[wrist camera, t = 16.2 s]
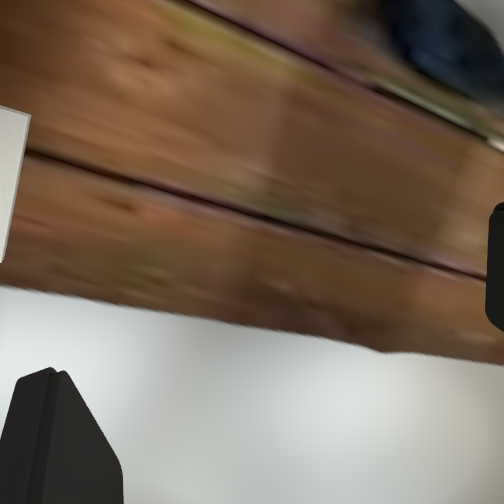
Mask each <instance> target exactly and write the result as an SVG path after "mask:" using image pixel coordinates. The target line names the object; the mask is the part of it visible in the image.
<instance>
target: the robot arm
mask: <svg viewBox="0 0 504 504" xmlns="http://www.w3.org/2000/svg"><path fill="white" fill-rule="evenodd" d="M485 312H486V315H487V317H488V319H489V320H490V322H491V323H492V324H493V325H494V326H496V327H497V328H499V329H500V330H501V331H503V332H504V202H502V203H499V204H498V205H497V206H496V207H495V208H494V210H493V213H492V214H491V216H490V218H489V233H488V256H487V278H486V300H485ZM123 499H124V498H123V474H122V469H121V465H120V463H119V460H118V458H117V456H116V455H115V453H114V451H113V449H112V448H111V446H110V444H109V443H108V441H107V439H106V437H105V436H104V434H103V432H102V430H101V429H100V427H99V426H98V424H97V422H96V420H95V419H94V417H93V415H92V413H91V412H90V410H89V408H88V407H87V405H86V403H85V401H84V400H83V398H82V396H81V395H80V393H79V391H78V389H77V388H76V386H75V385H74V383H73V381H72V379H71V378H70V376H69V375H68V373H67V372H66V371H60V372H56V370H55V369H53V368H52V367H49V368H46V369H43V370H40V371H37V372H35V373H32V374H29V375H27V376H24V377H21V378H19V379H18V380H17V383H16V385H15V389H14V392H13V396H12V399H11V403H10V406H9V410H8V413H7V417H6V421H5V424H4V428H3V431H2V435H1V438H0V504H124V500H123Z"/></svg>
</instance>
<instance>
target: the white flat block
mask: <svg viewBox="0 0 504 504" xmlns="http://www.w3.org/2000/svg"><path fill="white" fill-rule="evenodd" d="M30 120H31V114H28V113H24V112H21V111H18V110H14V109H11V108H8V107H5V106H1V105H0V263H1V262H2V260H3V258H4V257H5V251H6V246H7V241H8V236H9V230H10V225H11V220H12V215H13V209H14V204H15V199H16V193H17V188H18V183H19V178H20V172H21V167H22V162H23V157H24V151H25V146H26V141H27V136H28V130H29V125H30Z"/></svg>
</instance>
